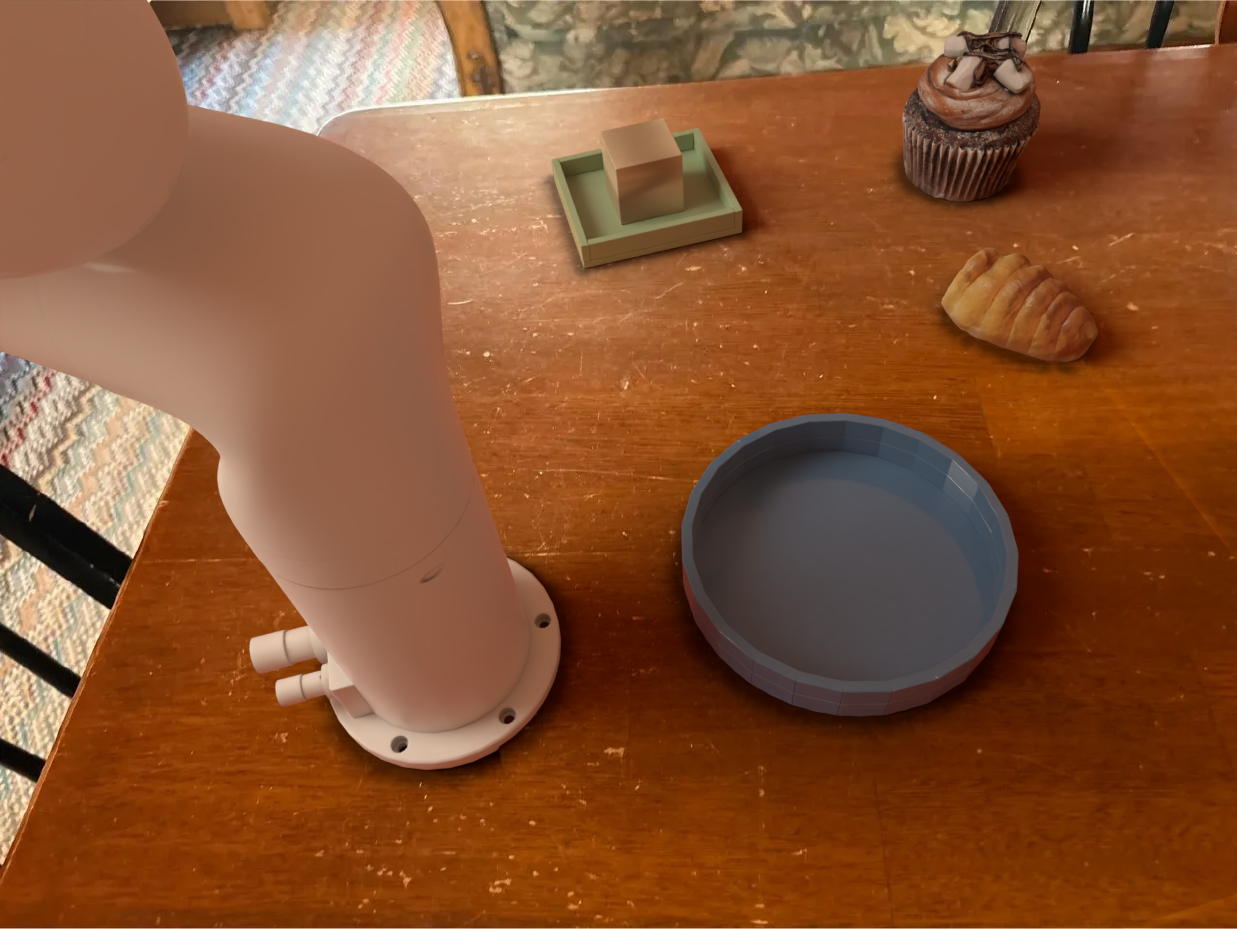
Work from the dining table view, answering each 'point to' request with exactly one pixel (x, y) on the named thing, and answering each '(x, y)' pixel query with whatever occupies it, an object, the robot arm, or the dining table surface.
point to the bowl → (847, 563)
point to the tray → (609, 241)
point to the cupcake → (970, 117)
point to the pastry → (1019, 307)
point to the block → (643, 171)
